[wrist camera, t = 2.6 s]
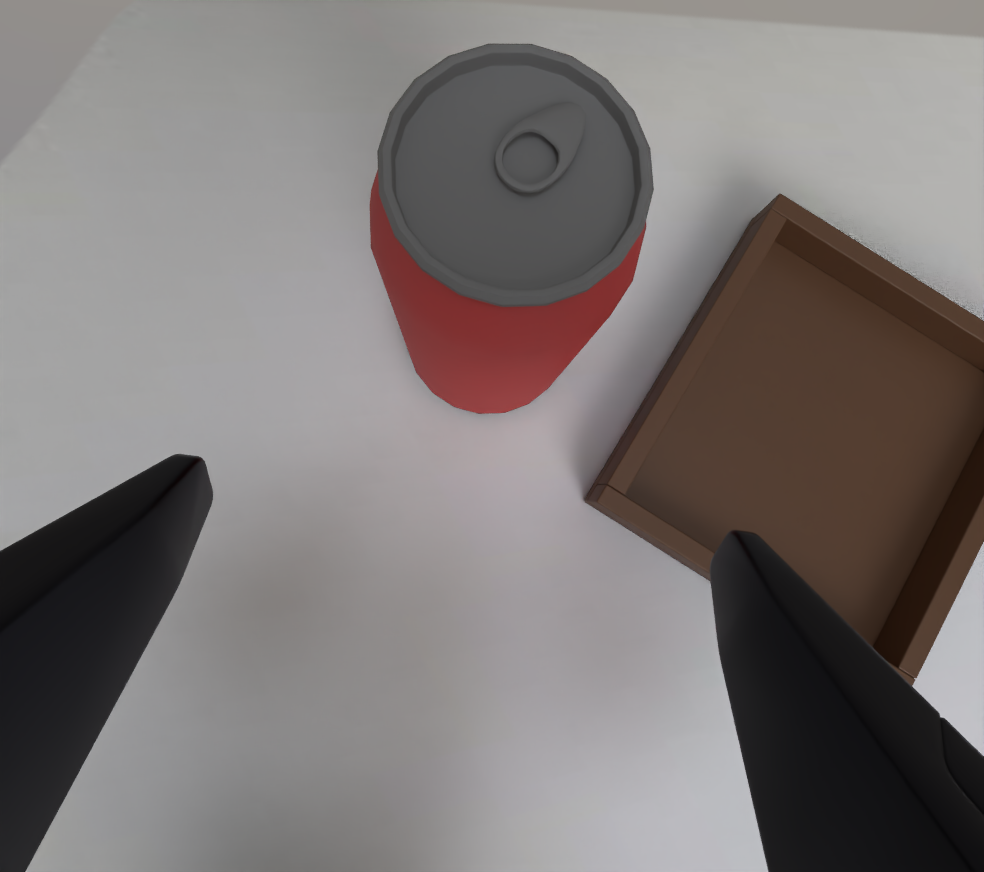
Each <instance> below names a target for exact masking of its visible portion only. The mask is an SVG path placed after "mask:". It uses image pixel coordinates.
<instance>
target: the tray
mask: <svg viewBox="0 0 984 872" xmlns="http://www.w3.org/2000/svg"><path fill="white" fill-rule="evenodd" d="M584 501H585V502H586V503H587V504H589V505H591V506H592V507H594V508H595V509H597V510H599V511H600V512H602V513H603V514H605V515H606V516H608V517H610V518H611V519H613V520H614V521H616V522H618V523H619V524H621V525H622V526H624V527H625V528H627V529H629V530H630V531H632V532H633V533H635V534H637V535H638V536H640V537H641V538H643V539H644V540H646V541H648V542H649V543H651V544H652V545H654V546H655V547H657V548H659V549H660V550H662V551H663V552H665V553H667V554H668V555H670V556H671V557H673V558H674V559H676V560H678V561H679V562H681V563H682V564H684V565H686V566H687V567H689V568H690V569H692V570H693V571H695V572H697V573H698V574H700V575H701V576H703V577H705V578H706V579H708V580H709V581H711V579H710V562H711V559H712V557H713V555H714V554H715V552H716V550H717V549H718V547H719V546H720V544H721V542H722V541H723V539H724V538H725V536H726V535H727V533H728V532H730V531H731V530H741V531H749V532H754V533H756V534H757V535H759V536H760V537H761V538H762V539H763V540H764V541H765V542H766V543H767V544H768V545H769V546H770V547H771V548H772V549H773V550H774V551H775V552H776V553H777V554H778V555H779V556H780V557H781V558H782V559H783V560H784V561H785V562H786V563H787V564H788V565H789V566H790V567H791V568H792V569H793V570H794V571H795V572H796V573H797V574H798V575H800V576H801V577H802V578H803V579H804V580H805V581H806V582H807V583H808V584H809V585H810V586H811V587H812V588H813V589H814V590H815V591H816V592H817V593H818V594H819V595H820V596H821V597H822V598H823V599H824V600H825V601H826V602H827V603H828V604H829V605H830V606H831V607H832V608H833V609H834V610H835V611H836V612H837V613H838V614H839V615H840V616H841V617H842V618H843V619H844V620H845V621H846V622H847V623H848V624H849V625H850V626H851V627H852V628H853V629H854V630H855V631H856V632H857V633H858V634H859V635H860V636H861V637H862V638H863V639H864V640H865V641H866V642H868V643H869V644H870V645H871V646H872V647H873V648H874V649H875V650H876V651H877V652H878V653H879V654H880V655H881V656H882V657H883V658H884V659H885V660H886V661H887V662H888V663H889V664H890V665H891V666H892V667H893V668H894V669H895V670H896V671H897V672H898V673H899V674H900V675H901V676H902V677H903V678H904V679H905V680H906V681H907V682H908V683H909V684H910V685H911V686H912V685H913V683H914V681H915V679H914V678H917V676H918V674H919V672H920V670H921V668H922V666H923V664H924V662H925V660H926V658H927V656H928V654H929V652H930V650H931V648H932V646H933V643H934V641H935V639H936V637H937V635H938V633H939V631H940V629H941V627H942V625H943V623H944V621H945V619H946V617H947V615H948V613H949V611H950V609H951V607H952V605H953V603H954V601H955V599H956V597H957V595H958V593H959V591H960V589H961V587H962V584H963V582H964V580H965V578H966V576H967V574H968V572H969V570H970V568H971V566H972V564H973V562H974V560H975V558H976V556H977V554H978V552H979V550H980V548H981V546H982V544H983V542H984V321H983V320H981V319H980V318H978V317H976V316H975V315H973V314H972V313H970V312H968V311H967V310H965V309H964V308H962V307H960V306H959V305H957V304H956V303H954V302H953V301H951V300H949V299H948V298H946V297H945V296H943V295H941V294H940V293H938V292H937V291H935V290H933V289H932V288H930V287H929V286H927V285H925V284H924V283H922V282H921V281H919V280H917V279H916V278H914V277H913V276H911V275H910V274H908V273H906V272H905V271H903V270H902V269H900V268H898V267H897V266H895V265H894V264H892V263H890V262H889V261H887V260H886V259H884V258H882V257H881V256H879V255H878V254H876V253H874V252H873V251H871V250H870V249H868V248H866V247H865V246H863V245H862V244H860V243H859V242H857V241H855V240H854V239H852V238H851V237H849V236H847V235H846V234H844V233H843V232H841V231H839V230H838V229H836V228H835V227H833V226H831V225H830V224H828V223H827V222H825V221H823V220H822V219H820V218H819V217H817V216H815V215H814V214H812V213H811V212H809V211H808V210H806V209H804V208H803V207H801V206H800V205H798V204H796V203H795V202H793V201H792V200H790V199H788V198H787V197H785V196H784V195H782V194H779V195H778V196H776V197H775V198H774V199H773V200H772V201H771V202H770V203H769V204H768V205H767V206H766V207H765V208H764V209H763V210H761V211H760V213H758V214H757V215H756V216H755V217H754V218H753V219H752V221H751V222H750V224H749V226H748V227H747V229H746V231H745V232H744V234H743V236H742V237H741V239H740V241H739V242H738V244H737V246H736V247H735V249H734V251H733V252H732V254H731V256H730V257H729V259H728V261H727V262H726V264H725V266H724V267H723V269H722V271H721V272H720V274H719V276H718V277H717V279H716V281H715V282H714V284H713V286H712V287H711V289H710V291H709V292H708V294H707V296H706V297H705V299H704V301H703V302H702V304H701V306H700V307H699V309H698V311H697V312H696V314H695V316H694V317H693V319H692V321H691V322H690V324H689V326H688V327H687V329H686V331H685V332H684V334H683V336H682V337H681V339H680V341H679V342H678V344H677V346H676V348H675V349H674V351H673V353H672V354H671V356H670V358H669V359H668V361H667V363H666V364H665V366H664V368H663V369H662V371H661V373H660V374H659V376H658V378H657V379H656V381H655V383H654V384H653V386H652V388H651V389H650V391H649V393H648V394H647V396H646V398H645V399H644V401H643V403H642V404H641V406H640V408H639V409H638V411H637V413H636V414H635V416H634V418H633V419H632V421H631V423H630V424H629V426H628V428H627V429H626V431H625V433H624V434H623V436H622V438H621V439H620V441H619V443H618V444H617V446H616V448H615V449H614V451H613V453H612V454H611V456H610V458H609V459H608V461H607V463H606V464H605V466H604V468H603V469H602V471H601V473H600V474H599V476H598V478H597V479H596V481H595V483H594V484H593V486H592V488H591V489H590V491H589V493H588V495H587V496H586V498H585V500H584Z"/></svg>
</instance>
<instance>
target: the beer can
mask: <svg viewBox="0 0 984 872" xmlns="http://www.w3.org/2000/svg"><path fill="white" fill-rule="evenodd" d="M653 190H654V188H653V176H652V164H651V152H650V147H649V145H648V143H647V140H646V138H645V135H644V133H643V131H642V128H641V126H640V124H639V121H638V119H637V117H636V114H635V112H634V110H633V109H632V108H631V107H630V106H629V104H628V103H627V102H626V101H625V100H624V98H623V97H622V96H621V95H620V94H619V93H618V91H617V90H616V89H615V88H614V87H613V85H612V84H611V83H610V82H609V81H608V80H607V79H606V78H605V77H603V76H602V75H600V74H598V73H597V72H595V71H594V70H592V69H591V68H589V67H588V66H586V65H585V64H583V63H582V62H580V61H578V60H577V59H575V58H574V57H572V56H570V55H566V54H563V53H560V52H556V51H553V50H550V49H546V48H543V47H540V46H536V45H533V44H486V45H483V46H480V47H477V48H473V49H470V50H467V51H463V52H460V53H457V54H453V55H450V56H448V57H446V58H445V59H443V60H442V61H441V62H439V63H438V64H436V65H435V66H433V67H432V68H430V69H429V70H427V71H426V72H425V73H423V74H422V75H420V76H419V77H417V78H416V79H414V81H413V82H412V84H411V85H410V86H409V88H408V89H407V90H406V92H405V93H404V94H403V96H402V97H401V98H400V100H399V101H398V102H397V104H396V105H395V106H394V108H393V109H392V110H391V112H390V114H389V117H388V120H387V123H386V126H385V130H384V133H383V136H382V139H381V142H380V145H379V148H378V170H377V174H376V177H375V180H374V183H373V186H372V189H371V198H370V232H371V249H372V252H373V255H374V257H375V260H376V263H377V266H378V268H379V271H380V274H381V277H382V279H383V282H384V285H385V288H386V290H387V293H388V296H389V299H390V302H391V304H392V307H393V310H394V313H395V315H396V318H397V321H398V324H399V326H400V329H401V332H402V335H403V337H404V340H405V343H406V346H407V349H408V351H409V354H410V357H411V359H412V362H413V365H414V367H415V370H416V373H417V374H418V375H419V376H420V378H421V379H422V380H423V381H424V383H425V384H426V385H427V386H428V388H429V389H430V390H431V391H432V392H433V393H434V394H436V395H437V396H439V397H440V398H442V399H443V400H445V401H446V402H448V403H449V404H451V405H452V406H454V407H457V408H461V409H464V410H468V411H471V412H475V413H479V414H482V413H505V412H508V411H510V410H513V409H516V408H518V407H521V406H524V405H527V404H529V403H530V402H531V401H533V400H534V399H535V398H536V397H538V396H539V395H540V394H542V393H543V392H544V391H545V390H547V389H548V388H549V387H550V386H551V384H552V383H553V382H554V381H555V380H556V378H557V377H558V376H559V375H560V374H561V373H562V371H563V370H564V369H565V368H566V367H567V366H568V364H569V363H570V362H571V361H572V360H573V359H574V357H575V356H576V355H577V354H578V353H579V352H580V350H581V349H582V348H583V347H584V346H585V345H586V343H587V342H588V341H589V340H590V339H591V337H592V336H593V335H594V334H595V333H596V332H597V330H598V329H599V328H600V327H601V326H602V325H603V323H604V322H605V321H606V320H607V319H608V318H609V316H610V315H611V314H612V312H613V311H614V309H615V307H616V306H617V304H618V303H619V301H620V300H621V298H622V297H623V295H624V294H625V292H626V290H627V289H628V287H629V286H630V284H631V283H632V281H633V277H634V273H635V270H636V266H637V262H638V258H639V254H640V250H641V246H642V242H643V238H644V234H645V230H646V218H647V214H648V210H649V206H650V202H651V198H652V194H653Z"/></svg>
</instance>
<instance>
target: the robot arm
mask: <svg viewBox="0 0 984 872" xmlns="http://www.w3.org/2000/svg"><path fill="white" fill-rule="evenodd" d="M212 500H213V490H212V486H211V482H210V478H209V475H208V471H207V467H206V464H205V461H204V460H203V459H202V458H201V457H199V456H192V455H184V454H175V455H172V456H170V457H168V458H167V459H165V460H163V461H161V462H159V463H158V464H156V465H154V466H152V467H150V468H149V469H147V470H145V471H143V472H141V473H140V474H138V475H136V476H134V477H132V478H131V479H129V480H127V481H125V482H123V483H122V484H120V485H118V486H116V487H115V488H113V489H111V490H109V491H107V492H106V493H104V494H102V495H100V496H98V497H97V498H95V499H93V500H91V501H89V502H88V503H86V504H84V505H82V506H80V507H79V508H77V509H75V510H73V511H71V512H70V513H68V514H66V515H64V516H62V517H61V518H59V519H57V520H55V521H53V522H52V523H50V524H48V525H46V526H44V527H43V528H41V529H39V530H37V531H35V532H34V533H32V534H30V535H28V536H26V537H25V538H23V539H21V540H19V541H17V542H16V543H14V544H12V545H10V546H8V547H7V548H5V549H3V550H1V551H0V872H25V871H26V869H27V868H28V866H29V864H30V862H31V860H32V858H33V856H34V855H35V853H36V851H37V849H38V847H39V845H40V843H41V842H42V840H43V838H44V836H45V834H46V832H47V830H48V829H49V827H50V825H51V823H52V821H53V819H54V817H55V816H56V814H57V812H58V810H59V808H60V806H61V804H62V803H63V801H64V799H65V797H66V795H67V793H68V791H69V790H70V788H71V786H72V784H73V782H74V780H75V778H76V777H77V775H78V773H79V771H80V769H81V767H82V765H83V764H84V762H85V760H86V758H87V756H88V754H89V752H90V751H91V749H92V747H93V745H94V743H95V741H96V739H97V738H98V736H99V734H100V732H101V730H102V728H103V726H104V725H105V723H106V721H107V719H108V717H109V715H110V713H111V711H112V710H113V708H114V706H115V704H116V702H117V700H118V698H119V697H120V695H121V693H122V691H123V689H124V687H125V685H126V684H127V682H128V680H129V678H130V676H131V674H132V672H133V671H134V669H135V667H136V665H137V663H138V661H139V659H140V658H141V656H142V654H143V652H144V650H145V648H146V646H147V645H148V643H149V641H150V639H151V637H152V635H153V633H154V632H155V630H156V628H157V626H158V624H159V622H160V620H161V619H162V617H163V615H164V613H165V611H166V609H167V607H168V606H169V604H170V602H171V600H172V598H173V596H174V594H175V592H176V590H177V588H178V586H179V584H180V582H181V579H182V577H183V575H184V572H185V570H186V568H187V565H188V562H189V560H190V557H191V555H192V552H193V550H194V547H195V545H196V542H197V540H198V537H199V535H200V532H201V530H202V527H203V525H204V522H205V520H206V517H207V515H208V512H209V510H210V507H211V504H212ZM710 579H711V588H712V597H713V606H714V615H715V624H716V633H717V641H718V648H719V654H720V659H721V664H722V669H723V673H724V678H725V682H726V687H727V691H728V695H729V700H730V704H731V709H732V713H733V717H734V722H735V726H736V731H737V735H738V740H739V744H740V748H741V753H742V757H743V762H744V766H745V770H746V775H747V779H748V784H749V788H750V792H751V797H752V801H753V806H754V810H755V814H756V819H757V823H758V828H759V832H760V836H761V841H762V845H763V850H764V854H765V858H766V863H767V867H768V872H984V756H983V755H982V754H981V753H980V752H979V751H978V750H977V749H975V748H974V747H973V746H972V745H971V744H970V743H969V742H968V741H967V740H966V739H965V738H964V737H963V736H962V735H961V734H960V733H959V732H958V731H957V730H956V729H955V728H954V727H953V726H952V725H951V724H950V723H949V722H948V721H947V720H946V719H945V718H940V714H939V713H938V711H937V710H936V709H934V708H933V707H932V706H931V705H930V704H929V703H928V702H927V701H926V700H925V699H924V698H923V697H922V696H921V695H920V694H919V693H918V692H917V691H916V690H915V689H914V688H913V687H912V686H911V685H910V684H909V683H908V682H907V681H906V680H905V679H904V678H903V677H902V676H901V675H900V674H899V673H898V672H897V671H896V670H895V669H894V668H893V667H892V666H891V665H890V664H889V663H888V662H887V661H886V660H885V659H884V658H883V657H882V656H881V655H880V654H879V653H878V652H877V651H876V650H875V649H874V648H873V647H872V646H871V645H870V644H869V643H868V642H866V641H865V640H864V639H863V638H862V637H861V636H860V635H859V634H858V633H857V632H856V631H855V630H854V629H853V628H852V627H851V626H850V625H849V624H848V623H847V622H846V621H845V620H844V619H843V618H842V617H841V616H840V615H839V614H838V613H837V612H836V611H835V610H834V609H833V608H832V607H831V606H830V605H829V604H828V603H827V602H826V601H825V600H824V599H823V598H822V597H821V596H820V595H819V594H818V593H817V592H816V591H815V590H814V589H813V588H812V587H811V586H810V585H809V584H808V583H807V582H806V581H805V580H804V579H803V578H802V577H801V576H800V575H798V574H797V573H796V572H795V571H794V570H793V569H792V568H791V567H790V566H789V565H788V564H787V563H786V562H785V561H784V560H783V559H782V558H781V557H780V556H779V555H778V554H777V553H776V552H775V551H774V550H773V549H772V548H771V547H770V546H769V545H768V544H767V543H766V542H765V541H764V540H763V539H762V538H761V537H760V536H759V535H757V534H756V533H754V532H749V531H741V530H731V531H730V532H728V533H727V535H726V536H725V538H724V539H723V541H722V542H721V544H720V546H719V547H718V549H717V550H716V552H715V554H714V555H713V557H712V559H711V562H710Z"/></svg>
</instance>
